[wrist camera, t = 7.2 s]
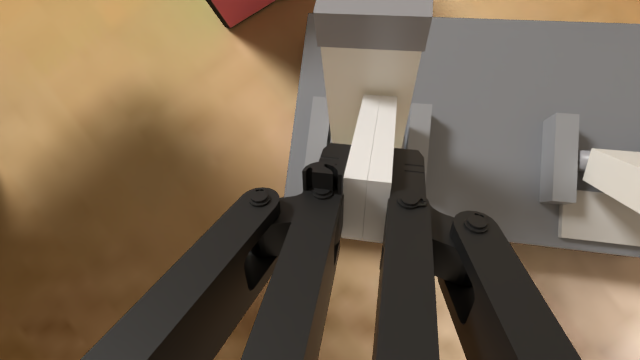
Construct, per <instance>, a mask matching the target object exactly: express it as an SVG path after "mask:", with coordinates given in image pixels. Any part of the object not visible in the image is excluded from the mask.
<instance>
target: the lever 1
mask: <svg viewBox="0 0 640 360" xmlns="http://www.w3.org/2000/svg"><path fill="white" fill-rule="evenodd" d="M313 16H314V24H315V32H316V40H317V47H321V56H322V64H323V72H324V81H325V89H326V98H327V106H328V115H329V123H330V131H331V140H330V143H338V144H348V145H351V144H352V140H353V136H354V132H355V128H356V124H357V120H358V116H359V112H360V108H361V104H362V100H363V95H364V94H366V95H380V96H395V97H397V109H396V124H395V139H394V148H401V149H404V143H405V136H404V134H405V129H406V124H407V119H408V115H409V110H410V105H411V100H412V96H413V91H414V86H415V82H416V77H417V72H418V67H419V63H420V58H421V53H422V52H425V49H426V44H427V40H428V35H429V30H430V26H431V21H432V17H433V0H316V3H315V7H314V11H313Z"/></svg>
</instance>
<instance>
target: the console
mask: <svg viewBox="0 0 640 360" xmlns="http://www.w3.org/2000/svg"><path fill="white" fill-rule="evenodd" d="M404 136H405V143H404V149H412V150H419V152H420V153H421V154H422V156H423V157H424V165H425V166H424V167H425V183H426V198H427V199H428V201H429V203H430V205H431V206H432V207H433V208H434V209H435V210H437V211H439V212H441V213H443V214H446V215H449V216H451V217H455V215H456V214H458V213H460V212H462V211H468V210H469V211H478V212H481V213H484V214H486V215H488V216H489V217H491V218H492V219H493V220H494V221H495V222H496V223H497V224H498V226H499V227H500V229H501V230H502V232H503V234H504V235H505V237H506V238H507V240H508V242H510V243H519V244H527V245H535V246H544V247H552V248H561V249H569V250H578V251H586V252H594V253H603V254H611V255H620V256H628V257H638V258H640V214H639V213H638V212H636V211H634V210H632V209H631V208H629V207H627V206H626V205H624V204H622V203H621V202H619V201H617V200H616V199H614V198H612V197H610V196H609V195H607V194H605V193H604V192H602V191H600V190H599V189H597V188H595V187H594V186H592V185H590V184H588V183H587V182H585V181H583V176H584V173H585V172H581V171H577V169H578V150H586V151H591V148H595V149H608V150H620V151H633V152H640V24H625V23H595V22H565V21H534V20H504V19H474V18H443V17H432V21H431V26H430V30H429V35H428V40H427V44H426V49H425V52H422V53H421V58H420V63H419V67H418V72H417V77H416V82H415V86H414V91H413V96H412V100H411V105H410V110H409V115H408V119H407V124H406V129H405V134H404ZM330 140H331V131H330V123H329V115H328V106H327V98H326V89H325V81H324V72H323V64H322V56H321V47H317V40H316V32H315V24H314V16H313V13H308V19H307V26H306V34H305V41H304V49H303V57H302V64H301V72H300V80H299V87H298V95H297V103H296V110H295V118H294V125H293V133H292V141H291V148H290V156H289V164H288V171H287V179H286V186H285V194H284V197H291V196H296V195H299V194H301V193H302V192H303V180H302V170H303V169H304V168H305V167H306V166H307V165H309V164H311V163H315V162H319V159H320V156H321V153H322V151H323V149H324V148H325V147H326V146H327V145H328V144H330Z"/></svg>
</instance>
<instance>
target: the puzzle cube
mask: <svg viewBox="0 0 640 360" xmlns="http://www.w3.org/2000/svg"><path fill="white" fill-rule="evenodd" d="M206 1H207V3H208V4H209V5H210V7H211V8H212V9H213V11H214V12H215V14H216V15H217V16H218V18H219V19H220V21H221V22H222V23H223V25H224V26H225V27H227V28H231V27H233V26H235V25H236V24H238V23H240V22H241V21H243V20H244V19H246V18H248V17H249V16H251V15H253V14H254V13H256V12H257V11H259V10H261V9H262V8H264V7H266V6H267V5H269V4H270V3H272V2H274V1H275V0H206Z"/></svg>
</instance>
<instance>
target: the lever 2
mask: <svg viewBox="0 0 640 360" xmlns="http://www.w3.org/2000/svg"><path fill="white" fill-rule="evenodd" d="M577 171H581V172H585V173H584V176H583V181H585V182H587V183H588V184H590V185H592V186H594V187H595V188H597V189H599V190H600V191H602V192H604V193H605V194H607V195H609V196H610V197H612V198H614V199H616V200H617V201H619V202H621V203H622V204H624V205H626V206H627V207H629V208H631V209H632V210H634V211H636V212H638V213H639V214H640V152H633V151H620V150H608V149H595V148H591V151H586V150H578V169H577Z"/></svg>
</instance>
